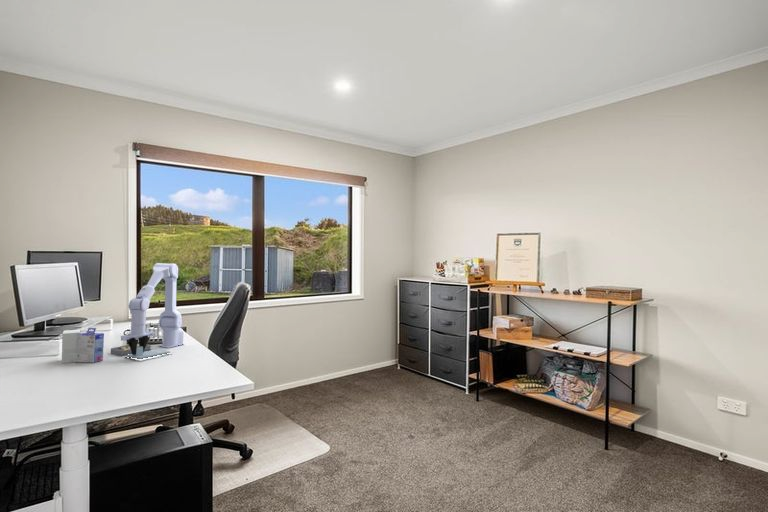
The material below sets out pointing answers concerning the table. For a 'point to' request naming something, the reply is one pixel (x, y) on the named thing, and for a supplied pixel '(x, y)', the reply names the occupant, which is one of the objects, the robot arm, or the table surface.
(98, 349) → the ink cartridge box
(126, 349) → the tub
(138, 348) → the lid
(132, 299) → the robot arm
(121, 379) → the table surface
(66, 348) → the small box
